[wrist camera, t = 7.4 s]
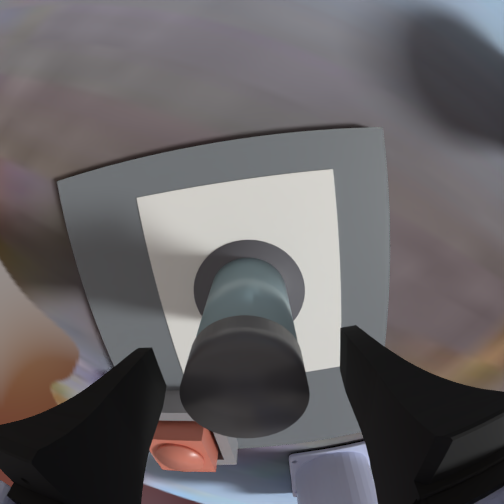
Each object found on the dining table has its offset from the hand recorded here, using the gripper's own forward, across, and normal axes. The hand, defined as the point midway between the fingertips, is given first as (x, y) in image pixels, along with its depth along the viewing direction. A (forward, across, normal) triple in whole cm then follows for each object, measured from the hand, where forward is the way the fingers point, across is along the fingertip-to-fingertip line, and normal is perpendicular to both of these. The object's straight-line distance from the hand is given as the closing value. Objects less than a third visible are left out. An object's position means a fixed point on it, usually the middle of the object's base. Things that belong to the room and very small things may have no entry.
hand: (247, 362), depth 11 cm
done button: (+5, +6, +10) cm, 13 cm away
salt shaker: (+6, 0, 0) cm, 6 cm away
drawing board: (+7, +1, +3) cm, 8 cm away
